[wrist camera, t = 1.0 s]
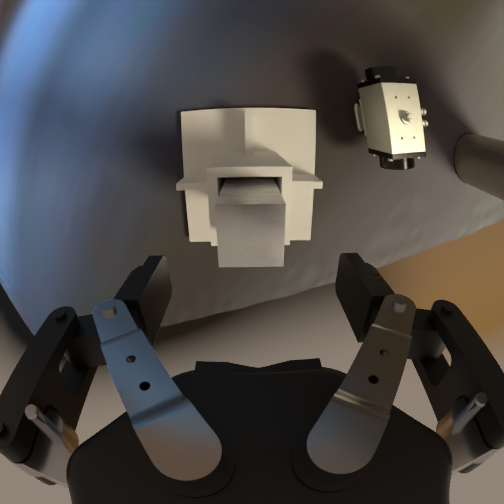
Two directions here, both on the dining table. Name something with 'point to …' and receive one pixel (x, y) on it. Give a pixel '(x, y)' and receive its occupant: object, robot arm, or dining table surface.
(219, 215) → the column
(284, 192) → the stand base
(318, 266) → the dining table surface
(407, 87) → the pneumatic valve
